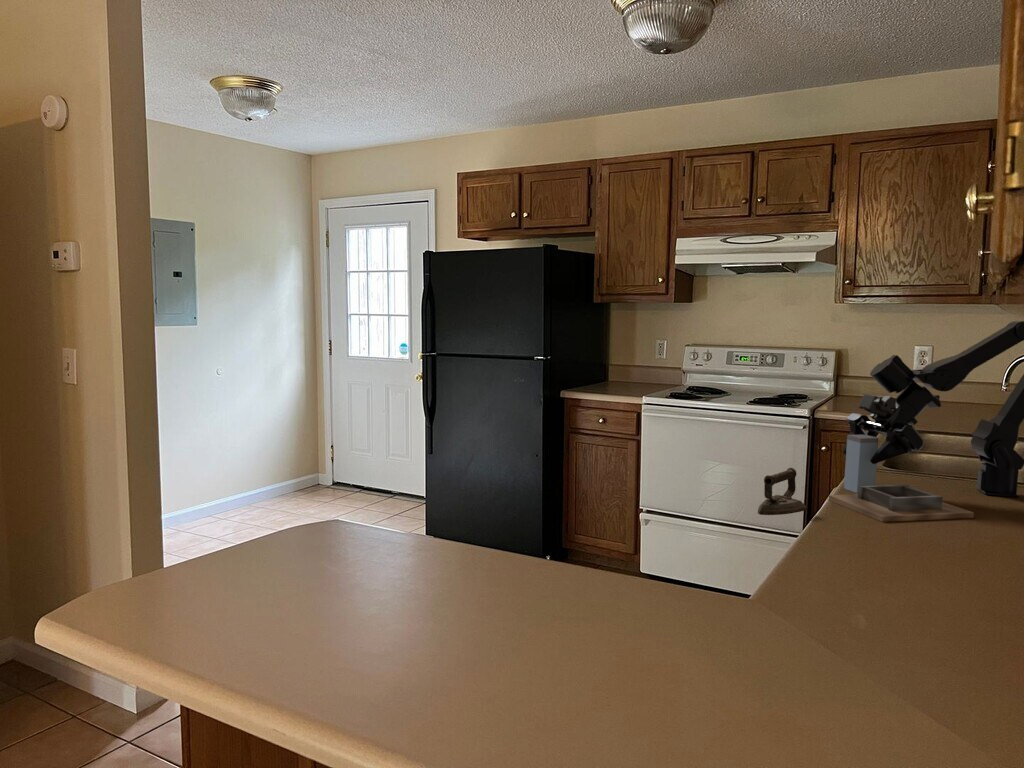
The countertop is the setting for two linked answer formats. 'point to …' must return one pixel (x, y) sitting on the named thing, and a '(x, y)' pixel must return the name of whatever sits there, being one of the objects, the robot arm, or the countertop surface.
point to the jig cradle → (899, 504)
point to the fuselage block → (860, 462)
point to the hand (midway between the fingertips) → (857, 458)
